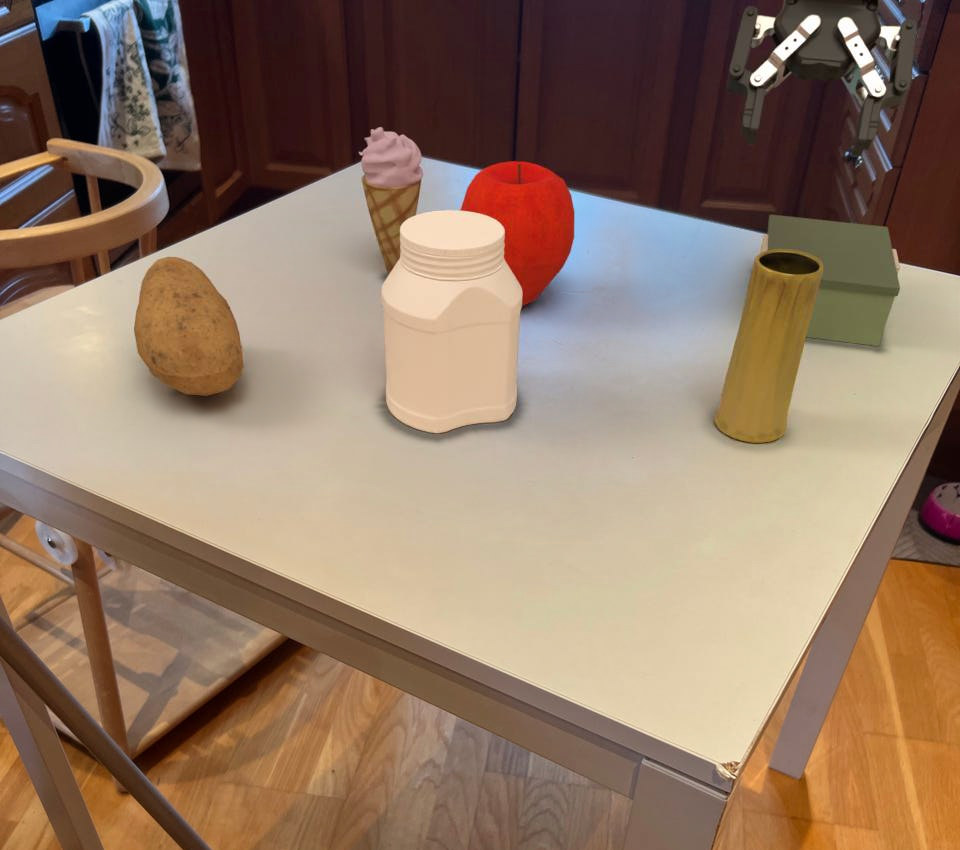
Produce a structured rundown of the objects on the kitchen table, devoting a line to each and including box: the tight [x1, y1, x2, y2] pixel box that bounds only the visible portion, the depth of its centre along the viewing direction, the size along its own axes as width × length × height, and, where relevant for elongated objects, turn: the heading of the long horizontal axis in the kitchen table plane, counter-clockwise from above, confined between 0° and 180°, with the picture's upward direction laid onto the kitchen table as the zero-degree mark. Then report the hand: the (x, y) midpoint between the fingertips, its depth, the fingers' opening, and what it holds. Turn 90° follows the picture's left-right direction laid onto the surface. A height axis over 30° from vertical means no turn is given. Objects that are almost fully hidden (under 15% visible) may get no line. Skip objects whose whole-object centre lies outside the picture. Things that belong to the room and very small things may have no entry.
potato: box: [133, 256, 245, 397], centre depth 84 cm, size 9×16×9 cm, turn 18°
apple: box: [459, 160, 575, 307], centre depth 97 cm, size 12×12×13 cm
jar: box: [380, 209, 523, 434], centre depth 81 cm, size 12×10×15 cm
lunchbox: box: [758, 214, 901, 347], centre depth 100 cm, size 13×16×6 cm
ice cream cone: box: [358, 126, 424, 276], centre depth 101 cm, size 7×6×15 cm
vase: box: [714, 249, 823, 444], centre depth 79 cm, size 6×6×14 cm
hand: (805, 145), depth 79 cm, fingers open, 8 cm apart
